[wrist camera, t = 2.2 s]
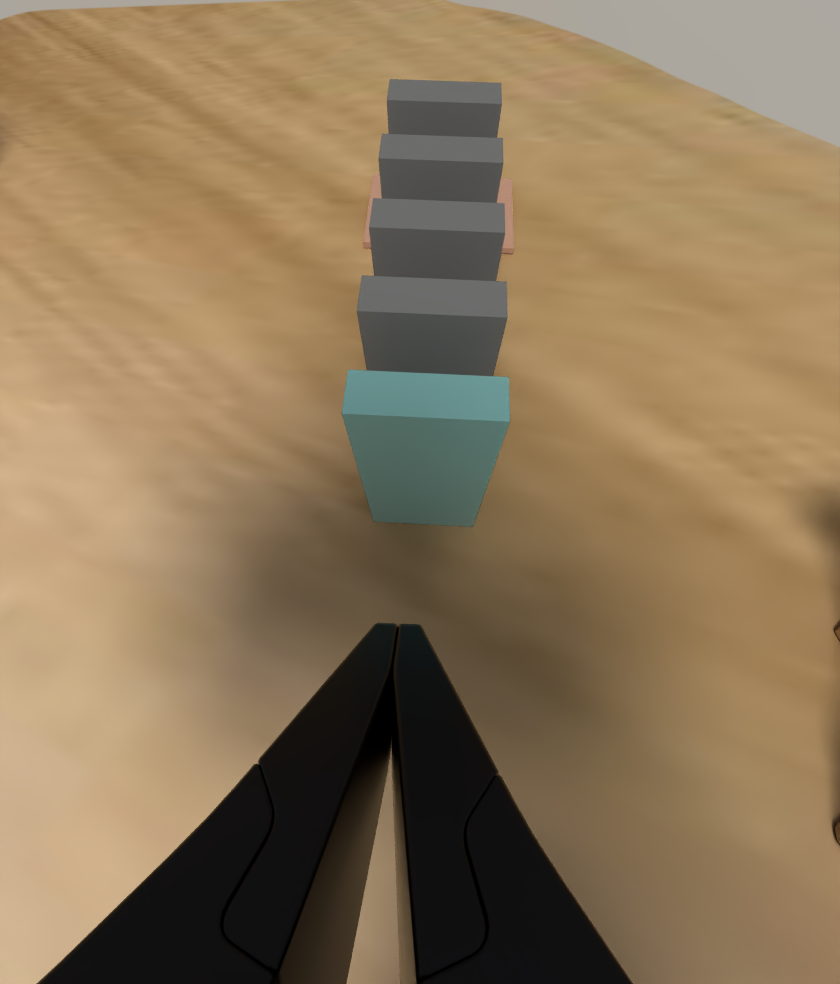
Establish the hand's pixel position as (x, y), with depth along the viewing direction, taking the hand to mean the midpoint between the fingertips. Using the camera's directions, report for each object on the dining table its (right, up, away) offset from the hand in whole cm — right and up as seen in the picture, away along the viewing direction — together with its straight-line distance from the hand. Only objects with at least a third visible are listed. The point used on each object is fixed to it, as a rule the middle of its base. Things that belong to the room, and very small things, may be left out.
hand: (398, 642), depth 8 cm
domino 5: (+1, +2, +14) cm, 15 cm away
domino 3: (+1, +9, +18) cm, 20 cm away
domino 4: (+1, +6, +16) cm, 17 cm away
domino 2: (+1, +13, +19) cm, 23 cm away
